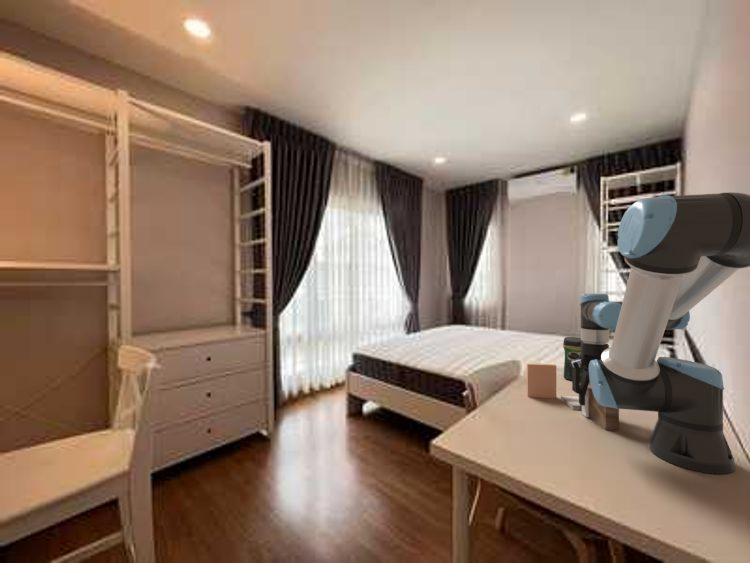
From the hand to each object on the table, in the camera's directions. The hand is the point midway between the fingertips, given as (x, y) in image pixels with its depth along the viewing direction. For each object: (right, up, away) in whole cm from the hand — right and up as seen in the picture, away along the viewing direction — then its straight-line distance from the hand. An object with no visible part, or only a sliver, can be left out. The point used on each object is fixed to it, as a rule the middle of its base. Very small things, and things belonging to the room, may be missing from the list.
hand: (594, 415), depth 108 cm
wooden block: (0, 0, +3) cm, 3 cm away
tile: (-7, 0, +19) cm, 21 cm away
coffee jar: (+19, -1, +42) cm, 46 cm away
